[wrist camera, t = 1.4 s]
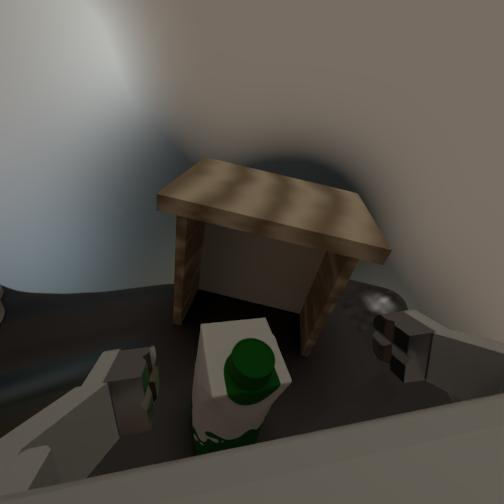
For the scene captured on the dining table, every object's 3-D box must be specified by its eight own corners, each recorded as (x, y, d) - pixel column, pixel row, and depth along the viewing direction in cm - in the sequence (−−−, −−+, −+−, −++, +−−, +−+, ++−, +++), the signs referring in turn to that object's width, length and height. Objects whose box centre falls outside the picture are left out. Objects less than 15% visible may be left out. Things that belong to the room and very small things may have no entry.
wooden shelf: (158, 350, 43) (156, 193, 28) (194, 283, 58) (205, 157, 43) (310, 388, 43) (391, 250, 28) (306, 310, 58) (357, 193, 43)
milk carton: (191, 480, 30) (208, 392, 20) (185, 401, 37) (195, 304, 27) (260, 459, 33) (308, 373, 23) (243, 390, 40) (272, 299, 29)
